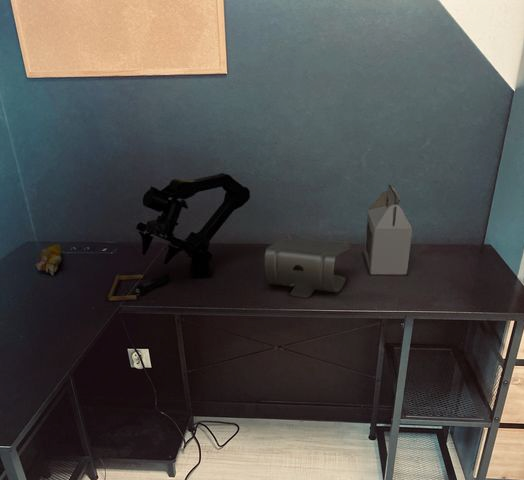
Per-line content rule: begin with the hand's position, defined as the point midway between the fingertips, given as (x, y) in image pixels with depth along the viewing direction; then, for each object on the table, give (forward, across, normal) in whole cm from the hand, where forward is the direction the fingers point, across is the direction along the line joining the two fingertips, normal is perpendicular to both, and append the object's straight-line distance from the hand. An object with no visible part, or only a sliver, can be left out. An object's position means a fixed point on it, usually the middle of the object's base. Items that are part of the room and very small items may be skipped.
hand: (154, 259), depth 183 cm
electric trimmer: (+10, +1, +5) cm, 11 cm away
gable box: (-30, +65, +48) cm, 87 cm away
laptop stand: (-12, +48, +23) cm, 54 cm away
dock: (+14, -7, +1) cm, 15 cm away
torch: (+20, -47, +9) cm, 52 cm away
